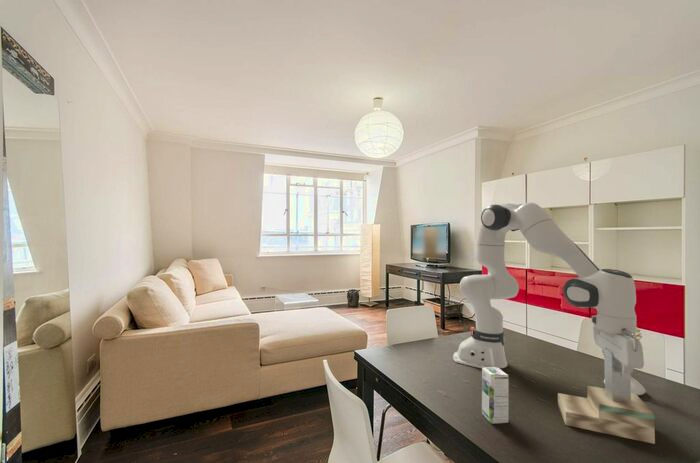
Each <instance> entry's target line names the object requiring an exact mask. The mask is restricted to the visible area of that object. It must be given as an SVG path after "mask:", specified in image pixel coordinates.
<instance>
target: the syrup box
mask: <svg viewBox="0 0 700 463" xmlns="http://www.w3.org/2000/svg"><path fill="white" fill-rule="evenodd" d="M481 414H482V415H483V416H484V418H485V419H486V420H487V421H488V423H490V424H493V425H494V424H506V423H507V424H508V423H509V374H507V373H506V372H505V371H503V370H502V369H501V368H500V369H499V368H496V367H486V368H481Z"/></svg>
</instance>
